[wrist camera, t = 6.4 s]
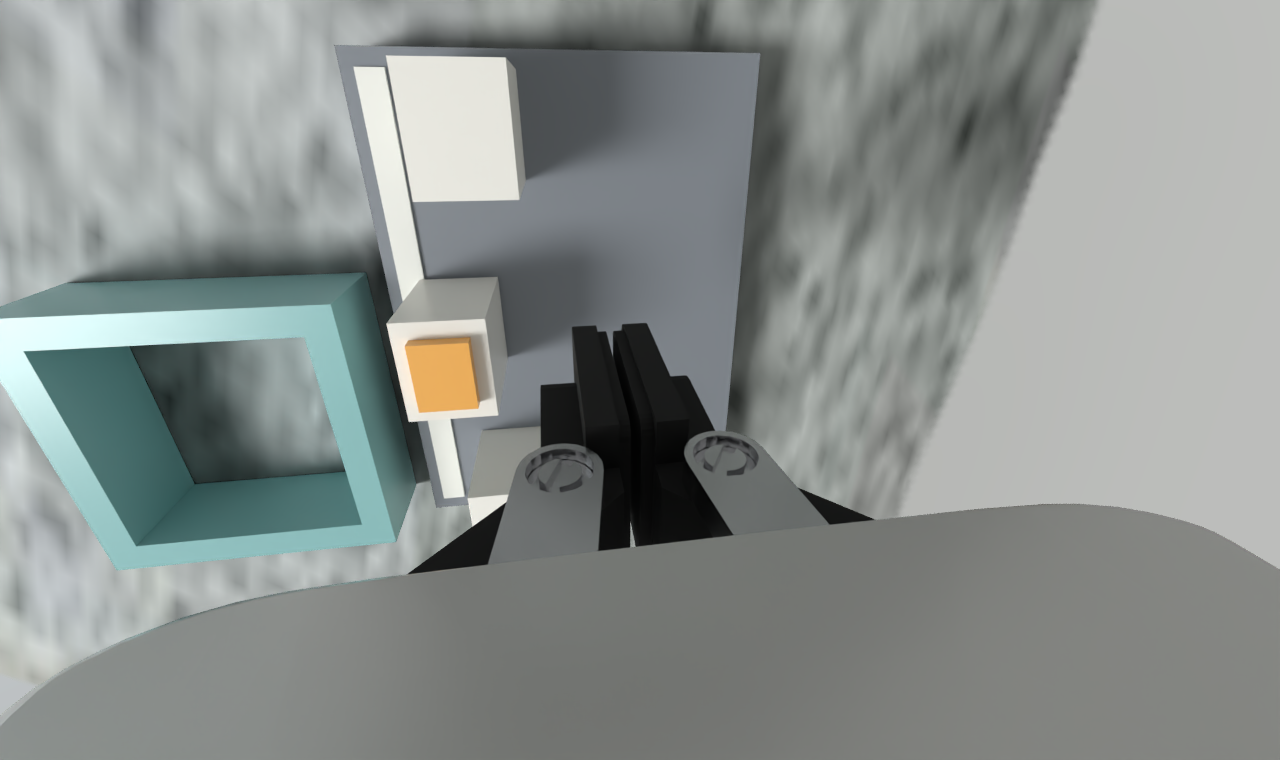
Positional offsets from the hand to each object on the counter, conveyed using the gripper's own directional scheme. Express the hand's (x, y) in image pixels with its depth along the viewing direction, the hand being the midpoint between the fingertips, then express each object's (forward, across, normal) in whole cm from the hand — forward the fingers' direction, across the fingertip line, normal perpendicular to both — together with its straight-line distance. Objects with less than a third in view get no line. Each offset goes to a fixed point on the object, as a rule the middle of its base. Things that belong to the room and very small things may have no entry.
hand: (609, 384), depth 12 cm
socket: (+9, +12, +5) cm, 16 cm away
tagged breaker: (+7, +4, +1) cm, 8 cm away
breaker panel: (+9, 0, +1) cm, 9 cm away
